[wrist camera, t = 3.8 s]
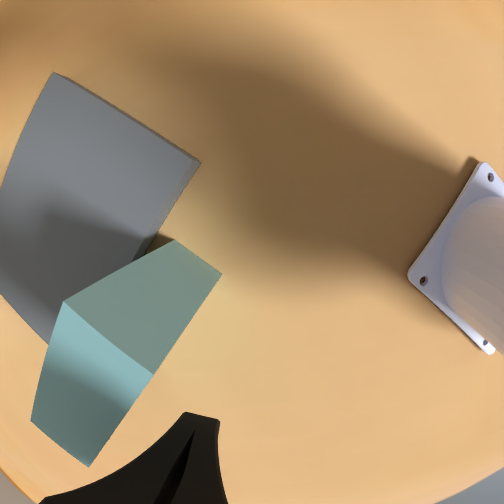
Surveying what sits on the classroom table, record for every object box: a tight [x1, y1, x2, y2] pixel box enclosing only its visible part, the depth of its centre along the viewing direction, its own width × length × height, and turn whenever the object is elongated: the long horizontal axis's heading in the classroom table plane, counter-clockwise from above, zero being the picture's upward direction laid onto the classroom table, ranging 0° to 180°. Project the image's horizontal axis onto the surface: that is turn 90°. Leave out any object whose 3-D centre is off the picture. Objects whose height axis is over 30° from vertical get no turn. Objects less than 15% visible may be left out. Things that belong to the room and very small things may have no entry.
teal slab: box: [31, 240, 222, 467], centre depth 12 cm, size 3×7×9 cm, turn 144°
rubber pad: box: [0, 72, 202, 345], centre depth 15 cm, size 11×15×2 cm
